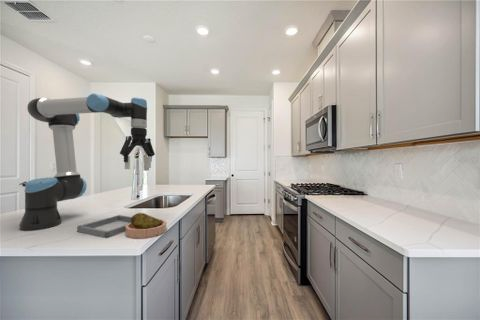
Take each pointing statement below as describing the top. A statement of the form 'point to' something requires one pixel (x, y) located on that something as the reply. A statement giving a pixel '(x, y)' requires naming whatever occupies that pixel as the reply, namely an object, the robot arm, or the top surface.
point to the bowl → (144, 231)
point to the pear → (144, 221)
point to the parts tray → (91, 229)
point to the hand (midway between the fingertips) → (138, 168)
